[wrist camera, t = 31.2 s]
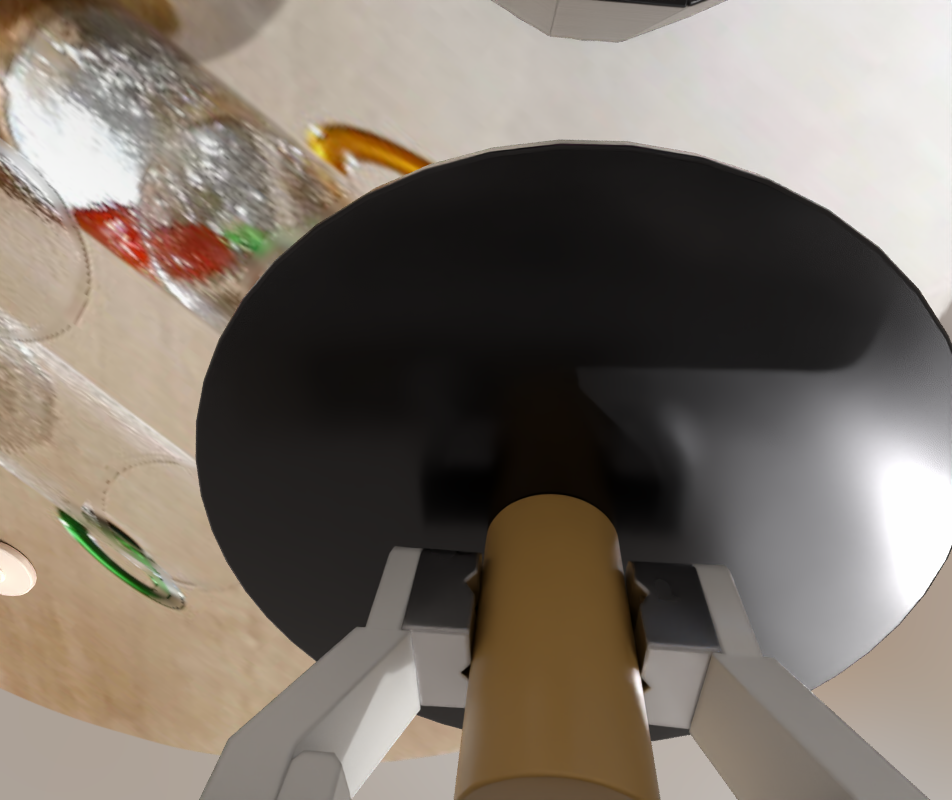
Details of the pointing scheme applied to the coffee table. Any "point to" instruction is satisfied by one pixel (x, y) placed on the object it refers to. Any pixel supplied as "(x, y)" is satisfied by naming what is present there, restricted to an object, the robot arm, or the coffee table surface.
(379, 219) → the lid
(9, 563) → the candlestick
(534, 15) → the pot
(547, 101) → the coffee table surface
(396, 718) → the robot arm
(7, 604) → the coffee table surface
